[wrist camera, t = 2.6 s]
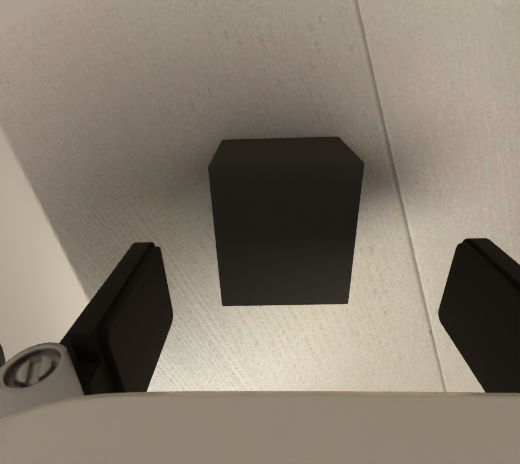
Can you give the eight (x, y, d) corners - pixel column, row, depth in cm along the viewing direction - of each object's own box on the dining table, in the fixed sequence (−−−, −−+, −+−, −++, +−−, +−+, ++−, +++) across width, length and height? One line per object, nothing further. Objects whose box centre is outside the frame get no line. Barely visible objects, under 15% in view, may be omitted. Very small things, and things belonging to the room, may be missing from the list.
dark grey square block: (230, 254, 19) (222, 307, 15) (221, 139, 16) (207, 166, 12) (330, 252, 19) (348, 304, 15) (339, 136, 16) (364, 162, 12)
